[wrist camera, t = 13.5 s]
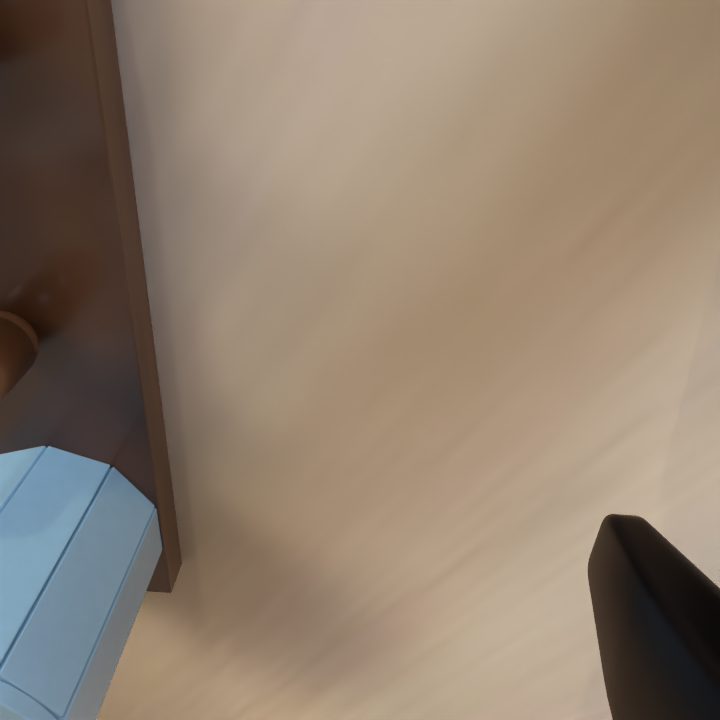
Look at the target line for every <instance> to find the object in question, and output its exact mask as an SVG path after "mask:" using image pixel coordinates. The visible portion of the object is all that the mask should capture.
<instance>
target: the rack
mask: <svg viewBox="0 0 720 720" xmlns="http://www.w3.org/2000/svg"><path fill="white" fill-rule="evenodd" d="M40 446H46V448H47V447H48V446H51V447H54V448H57V449H61V450H64V451H67V452H70V453H74V454H77V455H80V456H83V457H86V458H90V459H93V460H96V461H99V462H103V463H106V464H109V465H110V469H111V468H112V467H115V468H116V469H117V470H118V471H119V472H120V473H121V474H122V475H123V476H124V477H125V478H126V479H127V480H128V481H129V482H130V483H131V484H133V485H134V486H135V487H136V488H137V489H138V490H139V491H140V492H141V493H142V494H143V495H144V496H145V497H146V498H147V499H148V500H149V501H151V502H152V503H153V504H154V505H155V507H154V508H156V509H157V516H158V522H159V529H160V536H161V543H162V552H161V555H160V557H159V560H158V562H157V565H156V567H155V570H154V573H153V575H152V578H151V580H150V583H149V585H148V588H147V590H146V591H153V592H166V593H171V592H172V589H173V586H174V583H175V581H176V578H177V575H178V572H179V569H180V566H181V564H182V563H181V555H180V547H179V539H178V531H177V523H176V515H175V507H174V499H173V491H172V483H171V475H170V467H169V459H168V452H167V444H166V436H165V428H164V420H163V412H162V404H161V396H160V388H159V380H158V372H157V364H156V356H155V349H154V341H153V333H152V325H151V317H150V309H149V301H148V293H147V285H146V277H145V269H144V261H143V253H142V245H141V238H140V230H139V222H138V214H137V206H136V198H135V190H134V182H133V174H132V166H131V158H130V150H129V142H128V135H127V127H126V119H125V111H124V103H123V95H122V87H121V79H120V71H119V63H118V55H117V47H116V39H115V32H114V24H113V16H112V8H111V0H0V454H3V453H9V452H14V451H19V450H24V449H30V448H35V447H40Z"/></svg>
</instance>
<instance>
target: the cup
mask: <svg viewBox="0 0 720 720" xmlns="http://www.w3.org/2000/svg"><path fill="white" fill-rule="evenodd" d="M154 507H155V505H154V504H153V503H152V502H151V501H149V500H148V499H147V498H146V497H145V496H144V495H143V494H142V493H141V492H140V491H139V490H138V489H137V488H136V487H135V486H134V485H133V484H131V483H130V482H129V481H128V480H127V479H126V478H125V477H124V476H123V475H122V474H121V473H120V472H119V471H118V470H117V469H116V468H115V467H112V468H111V469H110V465H109V464H106V463H103V462H99V461H96V460H93V459H90V458H86V457H83V456H80V455H77V454H74V453H70V452H67V451H64V450H61V449H57V448H54V447H51V446H48V447H47V448H46V446H40V447H35V448H30V449H24V450H19V451H14V452H9V453H3V454H0V720H96V718H97V715H98V713H99V710H100V708H101V705H102V703H103V700H104V697H105V695H106V692H107V690H108V687H109V685H110V682H111V680H112V677H113V675H114V672H115V669H116V667H117V664H118V662H119V659H120V657H121V654H122V652H123V649H124V646H125V644H126V641H127V639H128V636H129V634H130V631H131V629H132V626H133V624H134V621H135V618H136V616H137V613H138V611H139V608H140V606H141V603H142V601H143V598H144V595H145V593H146V590H147V588H148V585H149V583H150V580H151V578H152V575H153V573H154V570H155V567H156V565H157V562H158V560H159V557H160V555H161V552H162V543H161V536H160V529H159V522H158V516H157V509H156V508H154Z"/></svg>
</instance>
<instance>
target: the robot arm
mask: <svg viewBox="0 0 720 720" xmlns="http://www.w3.org/2000/svg"><path fill="white" fill-rule="evenodd" d="M588 580H589V586H590V592H591V599H592V605H593V611H594V618H595V624H596V631H597V637H598V643H599V650H600V656H601V662H602V669H603V675H604V681H605V687H606V692H607V698H608V702H609V706H610V710H611V714H612V718H613V720H720V588H719V587H718V586H717V585H715V584H714V583H713V582H712V581H711V580H710V579H709V578H708V577H707V576H706V575H705V574H704V573H702V572H701V571H700V570H699V569H698V568H697V567H696V566H695V565H694V564H693V563H692V562H691V561H689V560H688V559H687V558H686V557H685V556H684V555H683V554H682V553H681V552H680V551H679V550H677V549H676V548H675V547H674V546H673V545H672V544H671V543H670V542H669V541H668V540H667V539H666V538H664V537H663V536H662V535H661V534H660V533H659V532H658V531H657V530H656V529H655V528H654V527H652V526H651V525H650V524H649V523H648V522H647V521H646V520H644V519H643V518H641V517H639V516H632V515H619V514H610V515H607V516H606V517H605V518H604V520H603V522H602V524H601V527H600V529H599V532H598V535H597V538H596V541H595V543H594V546H593V549H592V552H591V555H590V558H589V562H588Z"/></svg>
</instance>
